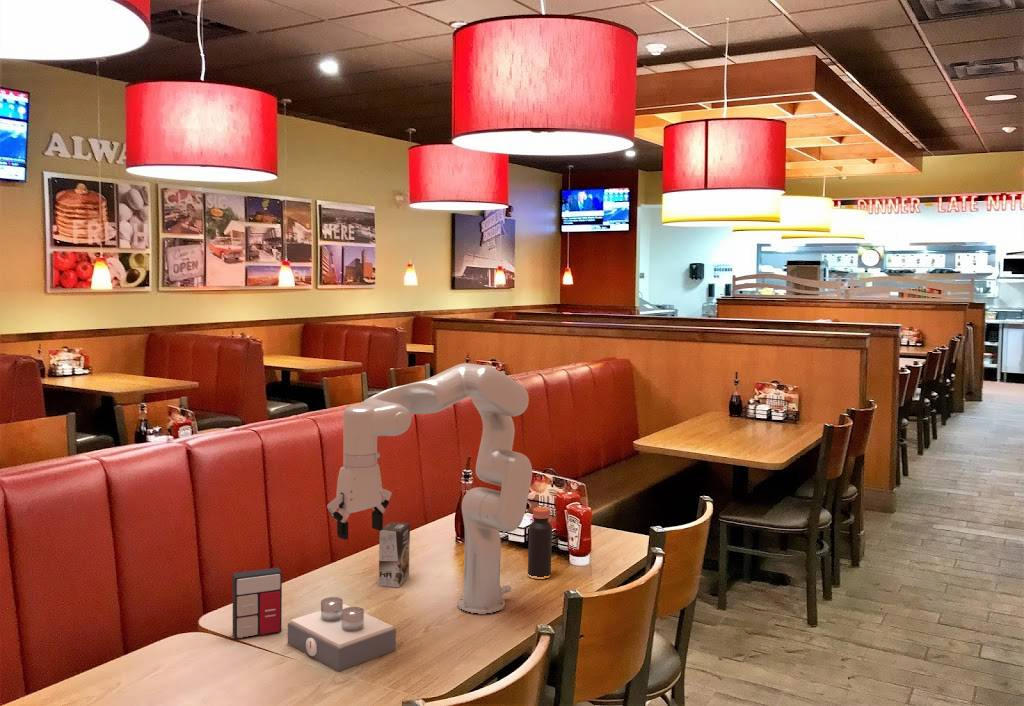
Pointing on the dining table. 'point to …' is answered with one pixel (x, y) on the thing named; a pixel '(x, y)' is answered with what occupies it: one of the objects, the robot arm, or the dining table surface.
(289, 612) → the dining table surface
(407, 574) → the coffee box
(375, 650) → the scale
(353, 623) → the cylinder
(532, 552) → the bottle
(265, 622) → the grey red panel
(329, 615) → the cylinder
